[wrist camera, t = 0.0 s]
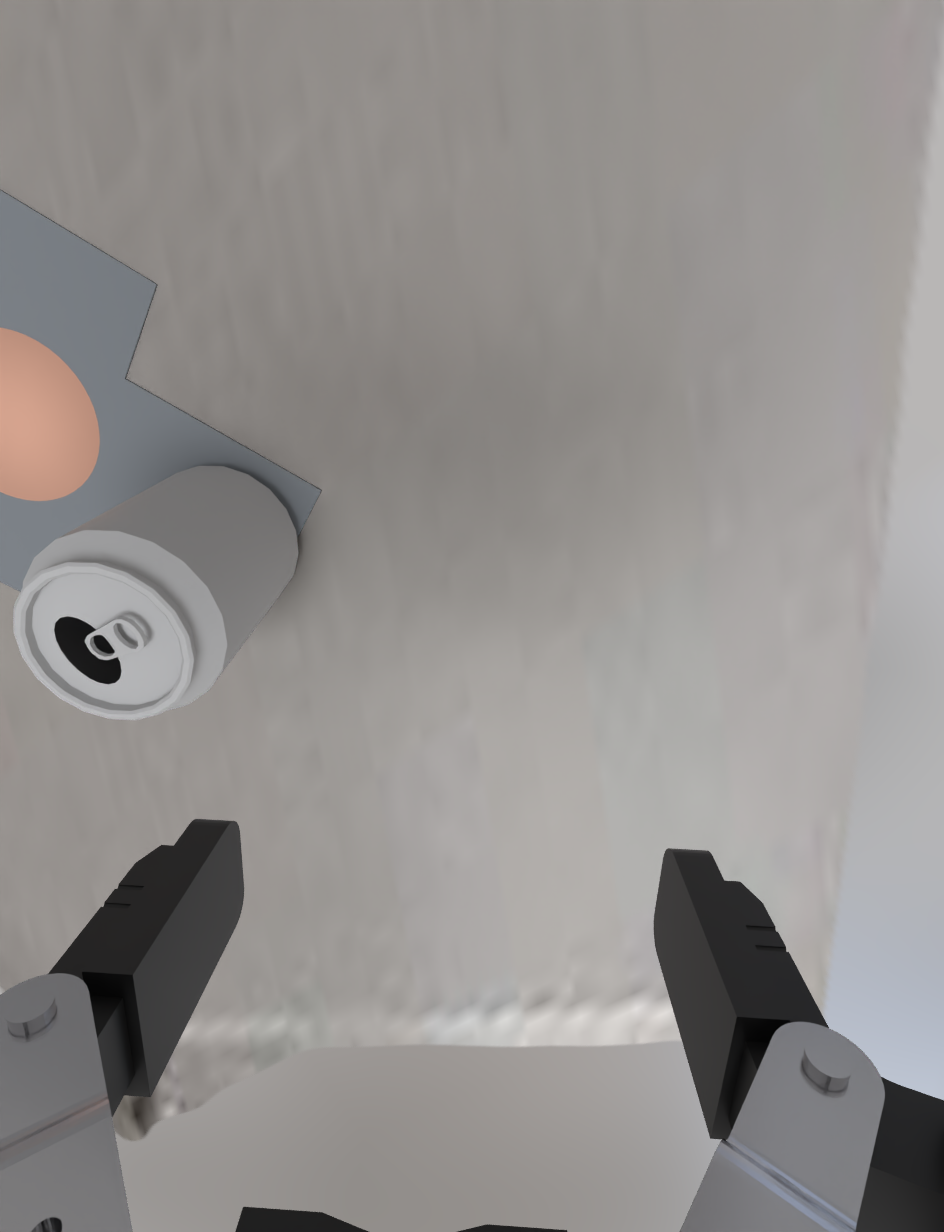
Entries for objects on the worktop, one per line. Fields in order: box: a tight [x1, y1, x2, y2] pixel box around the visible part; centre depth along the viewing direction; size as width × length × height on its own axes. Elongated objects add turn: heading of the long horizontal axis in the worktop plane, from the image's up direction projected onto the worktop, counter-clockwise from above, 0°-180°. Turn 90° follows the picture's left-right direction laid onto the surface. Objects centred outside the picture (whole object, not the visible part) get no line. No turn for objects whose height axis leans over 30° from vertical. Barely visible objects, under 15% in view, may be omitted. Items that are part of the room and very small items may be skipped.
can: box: [13, 466, 299, 720], centre depth 28 cm, size 8×8×12 cm
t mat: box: [0, 190, 322, 592], centre depth 32 cm, size 18×18×1 cm
